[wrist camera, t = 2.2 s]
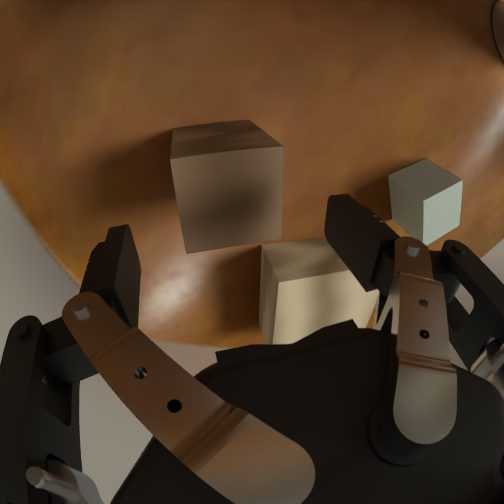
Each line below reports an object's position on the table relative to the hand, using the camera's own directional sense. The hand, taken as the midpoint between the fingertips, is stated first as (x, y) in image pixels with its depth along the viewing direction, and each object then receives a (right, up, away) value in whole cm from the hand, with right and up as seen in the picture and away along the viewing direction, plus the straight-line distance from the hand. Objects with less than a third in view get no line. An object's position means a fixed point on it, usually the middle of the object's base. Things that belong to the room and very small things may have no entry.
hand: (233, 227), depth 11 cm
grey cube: (+16, +5, +13) cm, 21 cm away
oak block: (+6, -4, +17) cm, 18 cm away
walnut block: (-2, +5, +8) cm, 10 cm away
